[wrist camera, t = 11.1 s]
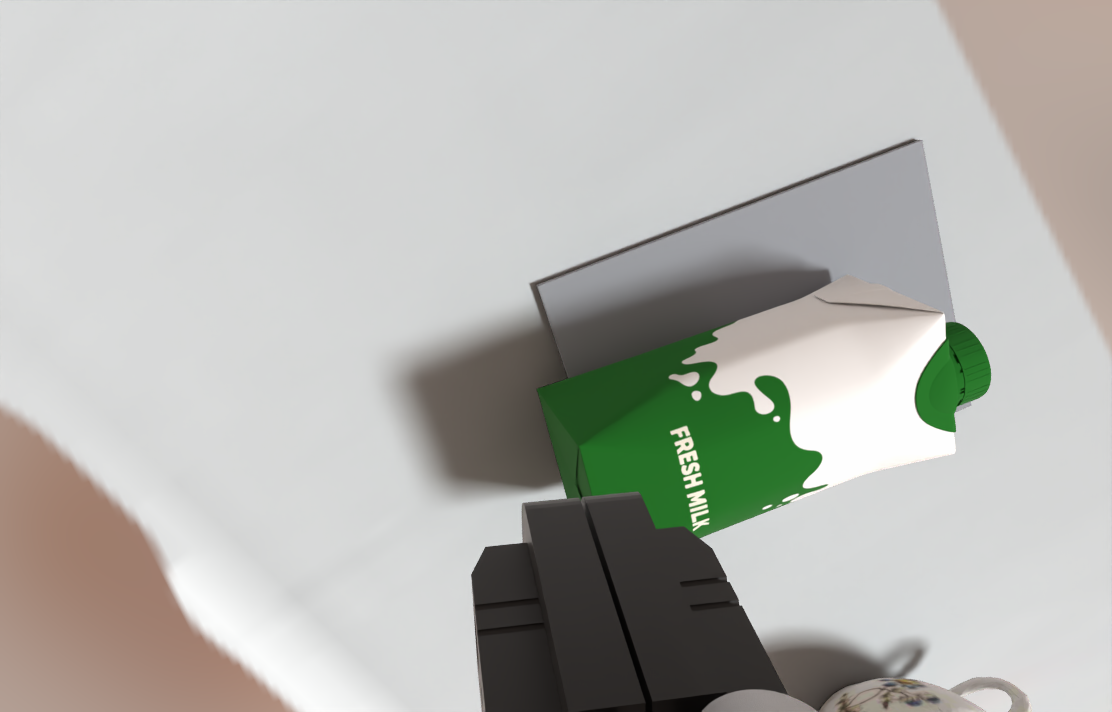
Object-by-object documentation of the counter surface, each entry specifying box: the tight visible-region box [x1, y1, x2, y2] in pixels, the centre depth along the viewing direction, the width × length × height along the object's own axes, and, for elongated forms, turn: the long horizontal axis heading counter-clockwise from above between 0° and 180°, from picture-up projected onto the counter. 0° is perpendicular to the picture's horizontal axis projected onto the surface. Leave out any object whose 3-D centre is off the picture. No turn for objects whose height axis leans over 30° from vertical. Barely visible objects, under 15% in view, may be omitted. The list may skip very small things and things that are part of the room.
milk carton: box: [537, 274, 991, 538], centre depth 45 cm, size 9×9×20 cm
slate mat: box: [536, 140, 971, 412], centre depth 49 cm, size 16×22×1 cm
